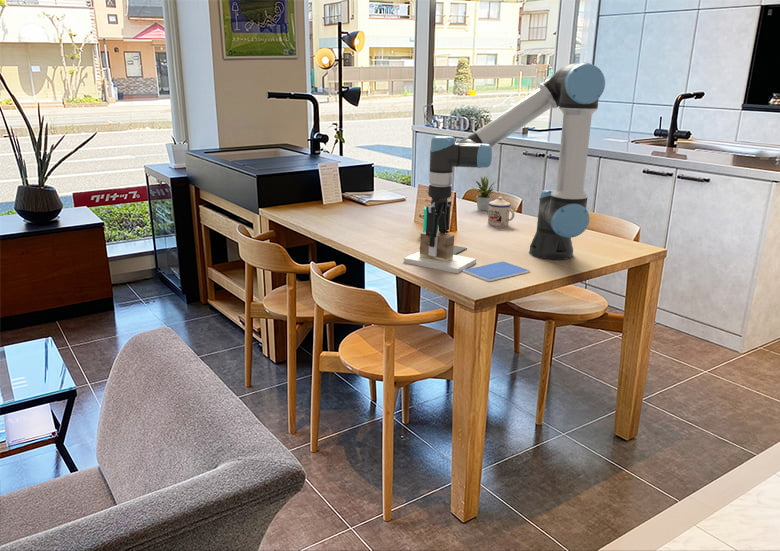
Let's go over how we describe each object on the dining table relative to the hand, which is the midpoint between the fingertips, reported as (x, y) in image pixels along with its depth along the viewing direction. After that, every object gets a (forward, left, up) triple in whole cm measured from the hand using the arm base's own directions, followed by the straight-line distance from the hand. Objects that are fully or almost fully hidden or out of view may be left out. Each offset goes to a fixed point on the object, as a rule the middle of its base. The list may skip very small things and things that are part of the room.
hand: (436, 253), depth 212 cm
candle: (+20, -32, -3) cm, 38 cm away
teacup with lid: (+4, -65, -3) cm, 65 cm away
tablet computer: (-21, -2, -4) cm, 21 cm away
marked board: (-1, 0, -3) cm, 3 cm away
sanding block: (0, 0, -1) cm, 1 cm away
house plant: (+24, -89, -3) cm, 92 cm away
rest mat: (+6, -16, -3) cm, 17 cm away
